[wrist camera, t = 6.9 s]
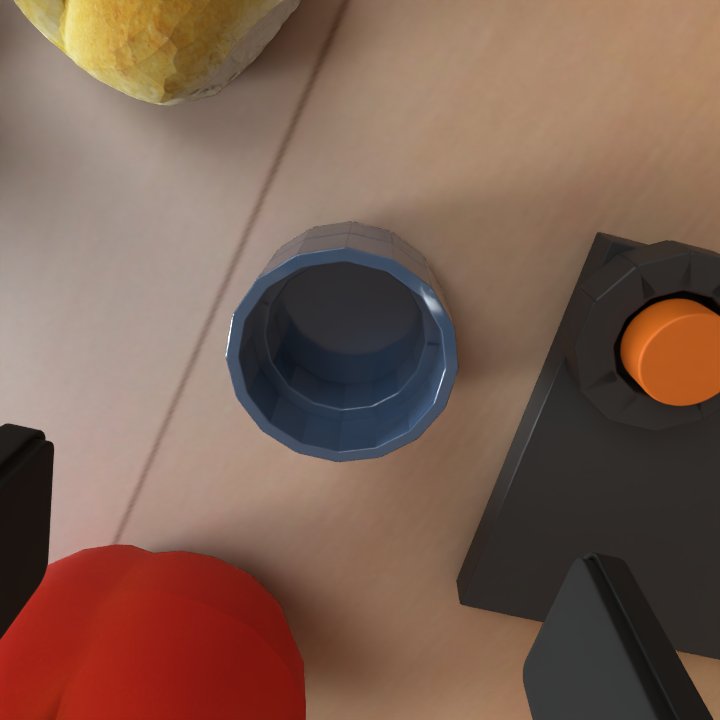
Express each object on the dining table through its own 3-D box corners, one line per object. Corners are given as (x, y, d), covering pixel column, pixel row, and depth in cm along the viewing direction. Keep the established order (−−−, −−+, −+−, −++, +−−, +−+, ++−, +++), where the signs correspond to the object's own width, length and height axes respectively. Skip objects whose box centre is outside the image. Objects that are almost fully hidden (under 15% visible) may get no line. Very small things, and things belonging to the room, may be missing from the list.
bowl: (274, 198, 20) (247, 222, 16) (466, 247, 21) (488, 282, 16) (242, 374, 23) (212, 434, 19) (413, 414, 23) (420, 481, 19)
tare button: (643, 287, 18) (665, 302, 17) (734, 310, 18) (763, 327, 17) (604, 373, 19) (622, 394, 18) (690, 394, 20) (714, 416, 18)
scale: (589, 214, 20) (622, 232, 17) (950, 309, 21) (1037, 340, 18) (445, 578, 26) (453, 633, 24) (726, 639, 27) (765, 699, 25)
